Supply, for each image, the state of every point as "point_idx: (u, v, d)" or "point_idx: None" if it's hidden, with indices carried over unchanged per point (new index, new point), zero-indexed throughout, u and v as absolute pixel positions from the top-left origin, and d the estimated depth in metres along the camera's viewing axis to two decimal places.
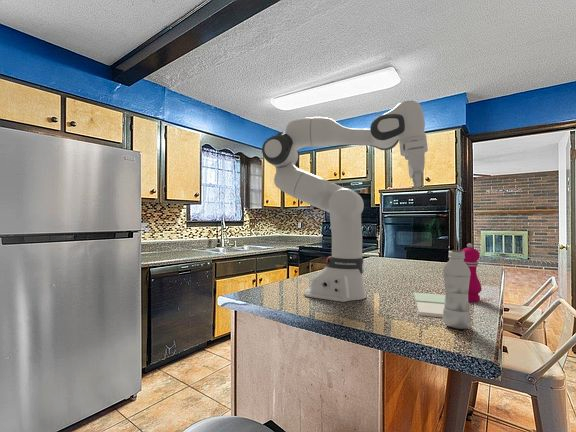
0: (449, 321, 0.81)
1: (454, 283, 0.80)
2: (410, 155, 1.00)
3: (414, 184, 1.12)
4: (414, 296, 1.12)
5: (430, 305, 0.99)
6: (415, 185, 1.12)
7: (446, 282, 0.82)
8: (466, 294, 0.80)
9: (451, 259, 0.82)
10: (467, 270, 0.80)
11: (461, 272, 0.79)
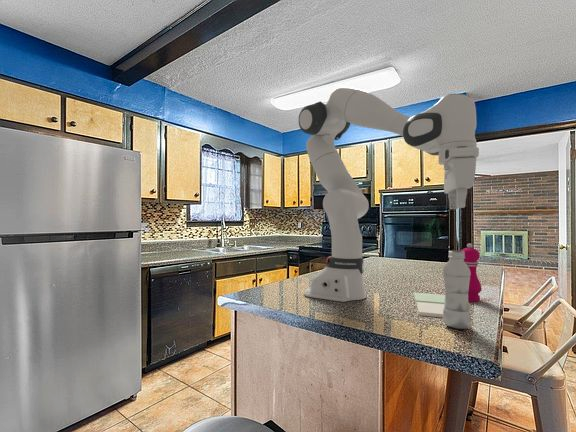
0: (449, 321, 0.81)
1: (454, 283, 0.80)
2: (456, 166, 0.74)
3: (451, 203, 0.87)
4: (414, 296, 1.12)
5: (430, 305, 0.99)
6: (452, 204, 0.87)
7: (446, 282, 0.82)
8: (466, 294, 0.80)
9: (451, 259, 0.82)
10: (467, 270, 0.80)
11: (461, 272, 0.79)
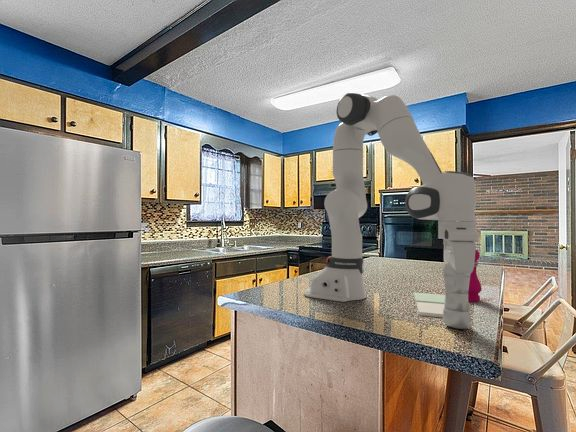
0: (449, 321, 0.81)
1: (454, 283, 0.80)
2: (455, 251, 0.74)
3: None
4: (414, 296, 1.12)
5: (430, 305, 0.99)
6: None
7: (446, 282, 0.82)
8: (466, 294, 0.80)
9: None
10: None
11: None
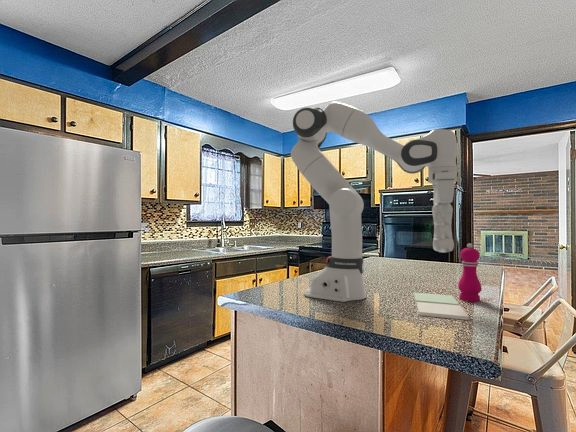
0: (437, 246, 1.05)
1: (440, 217, 1.05)
2: (439, 186, 0.99)
3: None
4: (414, 296, 1.12)
5: (430, 305, 0.99)
6: None
7: (434, 217, 1.07)
8: (449, 225, 1.05)
9: None
10: (450, 206, 1.04)
11: None
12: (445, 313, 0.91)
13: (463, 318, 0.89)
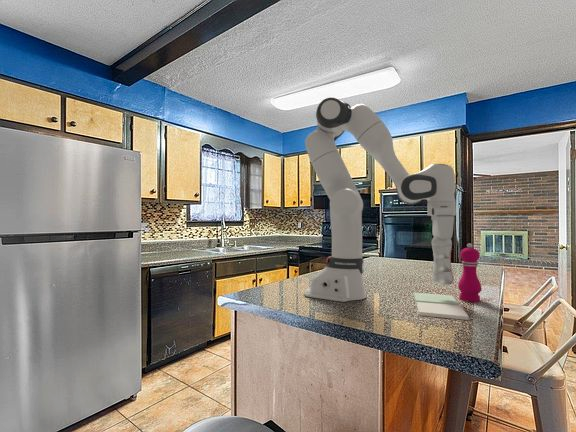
0: (436, 279, 1.07)
1: (439, 251, 1.07)
2: (439, 223, 1.01)
3: None
4: (414, 296, 1.12)
5: (430, 305, 0.99)
6: None
7: (434, 250, 1.09)
8: (449, 258, 1.06)
9: None
10: (449, 240, 1.06)
11: None
12: (445, 313, 0.91)
13: (463, 318, 0.89)
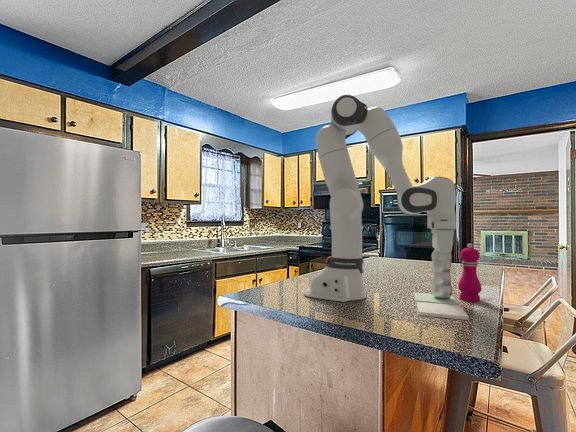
0: (435, 293, 1.08)
1: (439, 264, 1.07)
2: (439, 236, 1.00)
3: None
4: (414, 296, 1.12)
5: (430, 305, 0.99)
6: None
7: (434, 264, 1.09)
8: (448, 272, 1.07)
9: None
10: (449, 254, 1.06)
11: None
12: (445, 313, 0.91)
13: (463, 318, 0.89)
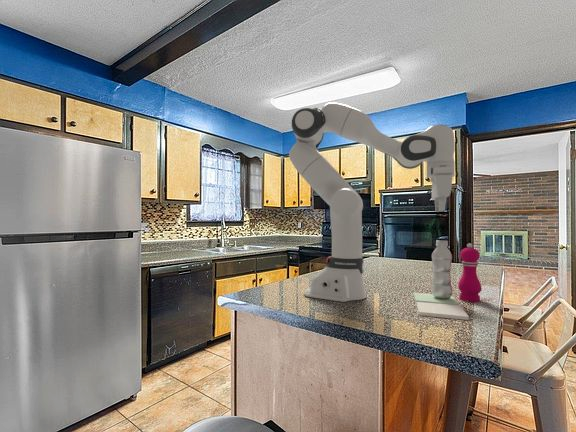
0: (435, 293, 1.08)
1: (439, 264, 1.07)
2: (437, 180, 1.01)
3: (436, 207, 1.14)
4: (414, 296, 1.12)
5: (430, 305, 0.99)
6: (437, 208, 1.14)
7: (434, 264, 1.09)
8: (448, 272, 1.07)
9: (437, 246, 1.09)
10: (449, 254, 1.06)
11: (444, 256, 1.06)
12: (445, 313, 0.91)
13: (463, 318, 0.89)
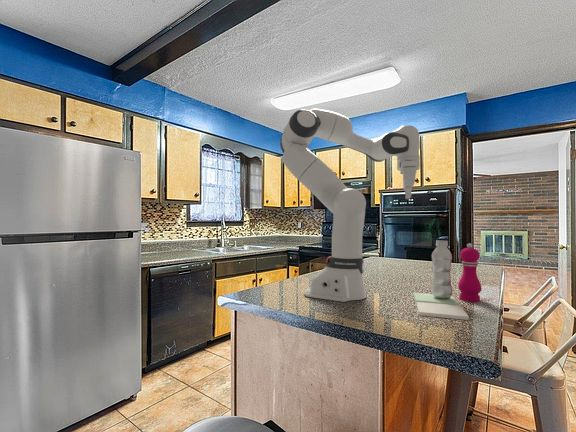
0: (435, 293, 1.08)
1: (439, 264, 1.07)
2: (404, 172, 1.23)
3: (406, 195, 1.35)
4: (414, 296, 1.12)
5: (430, 305, 0.99)
6: None
7: (434, 264, 1.09)
8: (448, 272, 1.07)
9: (437, 246, 1.09)
10: (449, 254, 1.06)
11: (444, 256, 1.06)
12: (445, 313, 0.91)
13: (463, 318, 0.89)
